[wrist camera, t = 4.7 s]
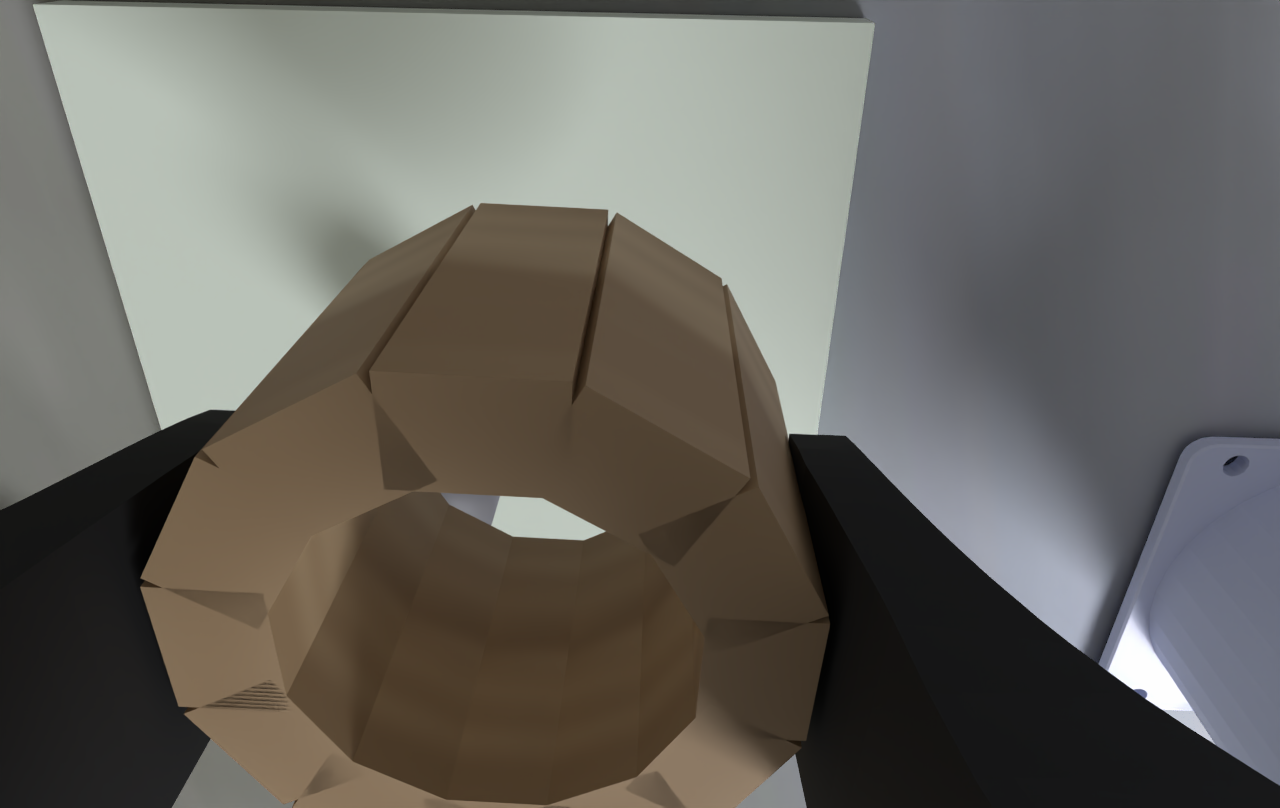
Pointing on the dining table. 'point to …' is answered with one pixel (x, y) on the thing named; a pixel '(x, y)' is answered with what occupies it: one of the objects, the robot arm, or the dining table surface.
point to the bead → (501, 537)
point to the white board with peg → (448, 166)
